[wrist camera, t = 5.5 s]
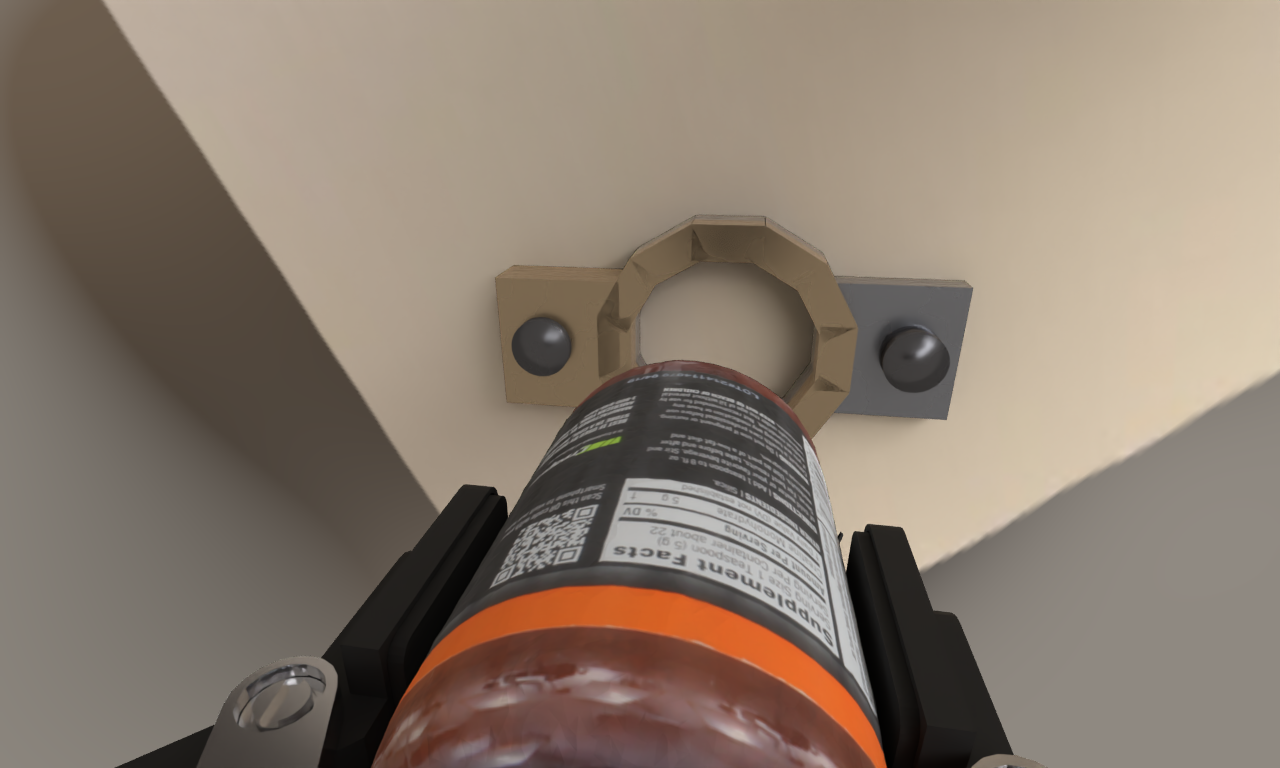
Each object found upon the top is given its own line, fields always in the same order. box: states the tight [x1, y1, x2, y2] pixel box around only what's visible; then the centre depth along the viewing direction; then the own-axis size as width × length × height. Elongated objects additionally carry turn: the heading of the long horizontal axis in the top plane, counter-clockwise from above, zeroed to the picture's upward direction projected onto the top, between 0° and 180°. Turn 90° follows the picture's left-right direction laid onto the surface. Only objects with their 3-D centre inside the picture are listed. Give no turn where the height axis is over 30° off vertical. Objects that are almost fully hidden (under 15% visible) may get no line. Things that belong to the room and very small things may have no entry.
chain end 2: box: [635, 215, 973, 420], centre depth 29 cm, size 16×11×2 cm
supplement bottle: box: [371, 360, 887, 768], centre depth 10 cm, size 6×6×11 cm
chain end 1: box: [495, 219, 858, 439], centre depth 29 cm, size 16×11×3 cm
